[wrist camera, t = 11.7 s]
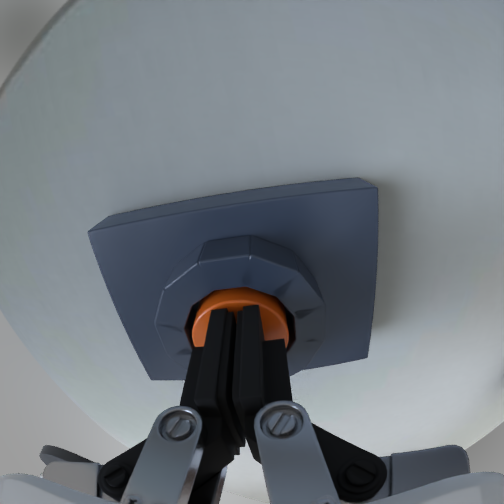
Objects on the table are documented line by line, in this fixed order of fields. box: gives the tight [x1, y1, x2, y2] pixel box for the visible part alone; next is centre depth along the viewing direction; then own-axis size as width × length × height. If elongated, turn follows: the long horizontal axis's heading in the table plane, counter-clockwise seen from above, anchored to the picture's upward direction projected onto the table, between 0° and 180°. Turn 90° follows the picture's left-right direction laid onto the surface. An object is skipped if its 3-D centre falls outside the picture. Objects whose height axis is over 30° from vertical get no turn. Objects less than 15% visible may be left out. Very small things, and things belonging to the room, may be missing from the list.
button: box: [192, 287, 289, 348], centre depth 11 cm, size 4×4×2 cm
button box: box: [88, 178, 378, 380], centre depth 12 cm, size 12×9×4 cm
